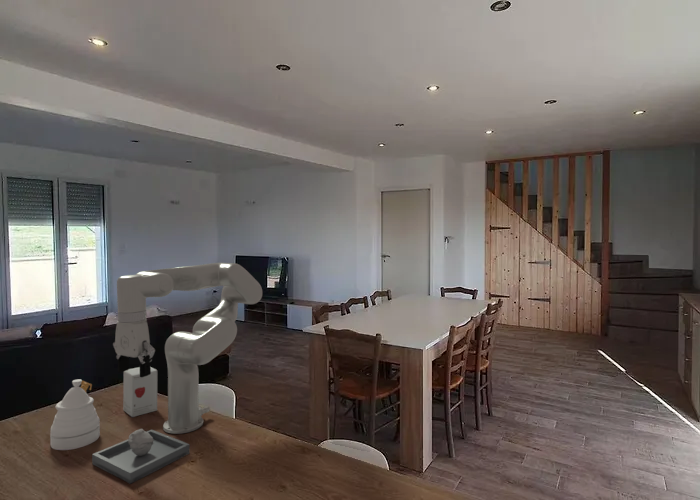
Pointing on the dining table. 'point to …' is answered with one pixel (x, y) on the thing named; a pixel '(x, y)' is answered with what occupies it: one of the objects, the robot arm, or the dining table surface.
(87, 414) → the honey pot
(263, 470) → the dining table surface
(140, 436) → the frog figurine
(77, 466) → the dining table surface
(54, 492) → the dining table surface
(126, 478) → the tray
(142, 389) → the supplement box
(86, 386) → the figurine
